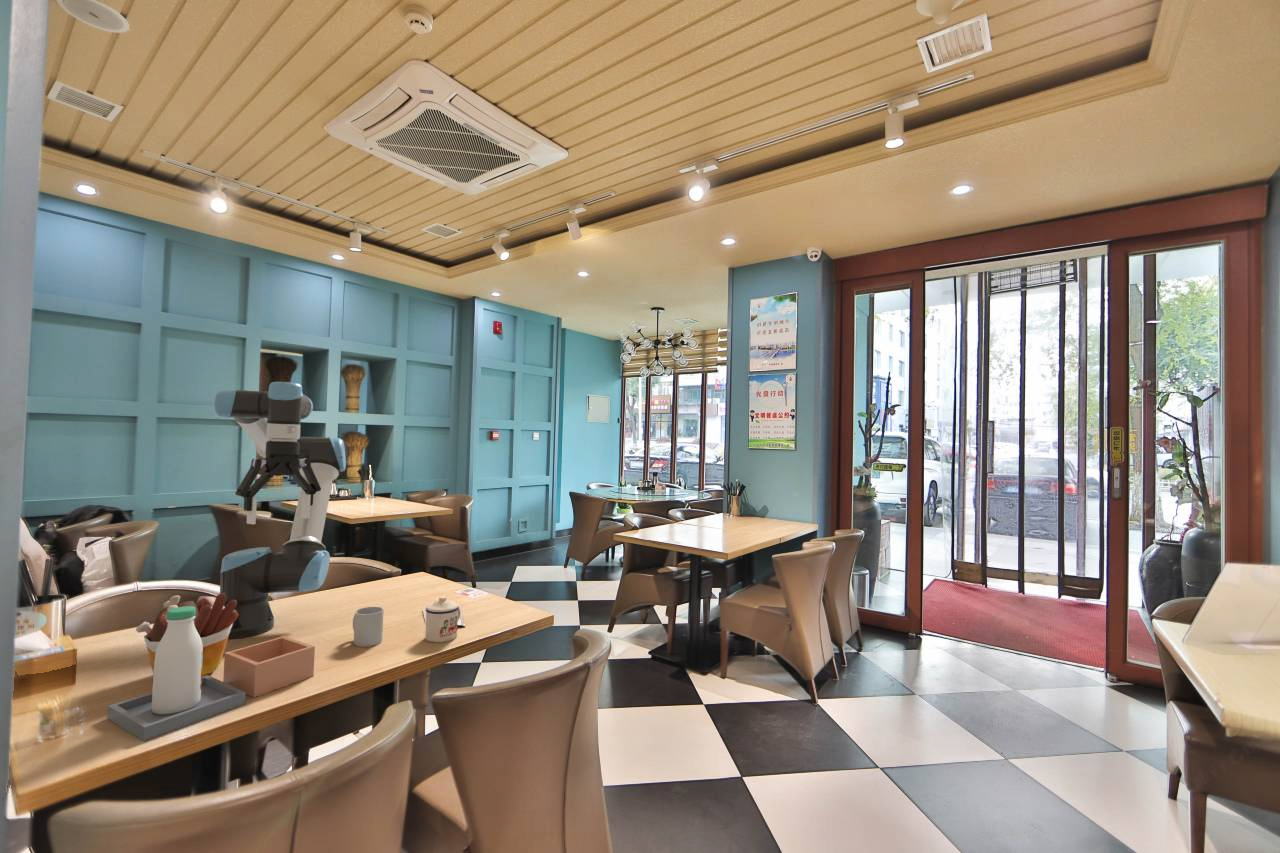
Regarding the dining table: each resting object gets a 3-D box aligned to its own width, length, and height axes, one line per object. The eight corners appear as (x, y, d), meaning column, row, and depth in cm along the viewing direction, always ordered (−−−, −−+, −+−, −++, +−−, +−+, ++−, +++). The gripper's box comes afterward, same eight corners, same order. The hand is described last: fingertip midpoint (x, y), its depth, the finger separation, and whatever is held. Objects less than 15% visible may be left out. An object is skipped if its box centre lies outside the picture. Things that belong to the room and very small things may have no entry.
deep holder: (223, 683, 126) (224, 652, 126) (282, 664, 137) (283, 636, 137) (254, 697, 119) (255, 665, 120) (313, 676, 131) (314, 646, 131)
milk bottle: (198, 709, 111) (203, 611, 112) (148, 719, 107) (153, 616, 108) (202, 694, 118) (207, 601, 118) (154, 703, 114) (160, 606, 114)
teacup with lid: (442, 645, 153) (443, 603, 153) (417, 640, 156) (418, 598, 156) (470, 632, 164) (472, 593, 164) (447, 627, 167) (448, 589, 167)
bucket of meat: (119, 682, 125) (123, 594, 125) (195, 655, 141) (199, 577, 141) (182, 696, 119) (187, 604, 120) (254, 666, 135) (258, 585, 136)
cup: (364, 649, 148) (366, 616, 148) (341, 642, 153) (342, 610, 153) (388, 641, 155) (389, 609, 155) (364, 634, 159) (366, 603, 159)
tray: (107, 718, 109) (108, 705, 109) (207, 686, 124) (207, 675, 124) (143, 741, 102) (144, 727, 102) (245, 703, 117) (245, 692, 117)
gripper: (238, 439, 132) (233, 527, 132) (336, 441, 154) (333, 517, 154) (222, 439, 136) (217, 524, 135) (320, 440, 158) (317, 514, 157)
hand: (279, 520), depth 145 cm, fingers open, 13 cm apart
